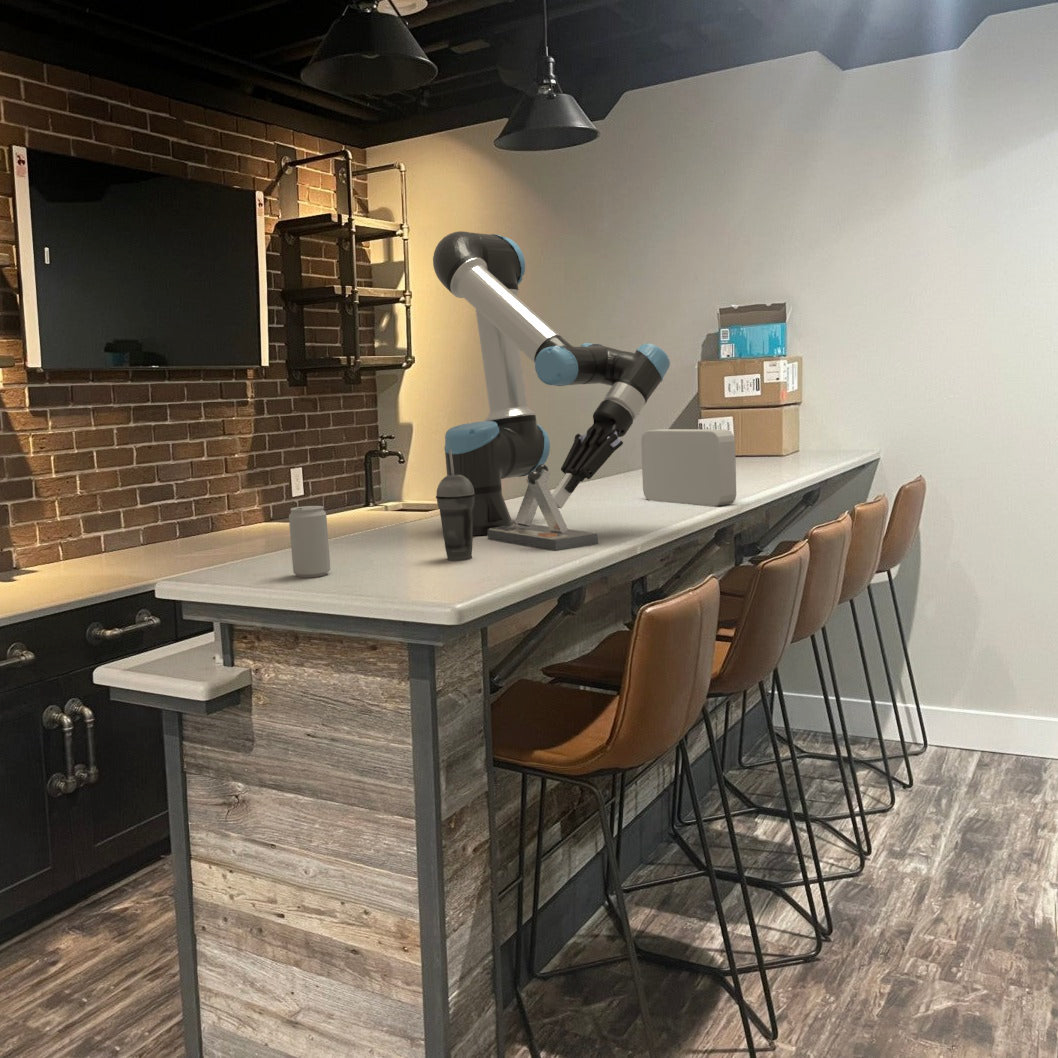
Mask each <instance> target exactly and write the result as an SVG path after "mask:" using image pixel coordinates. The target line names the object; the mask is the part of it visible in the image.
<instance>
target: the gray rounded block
mask: <svg viewBox="0 0 1058 1058" xmlns="http://www.w3.org/2000/svg"><path fill="white" fill-rule="evenodd" d="M640 438H641V439H640V440H641V441H640V444H641V445H640V448H641V467H642V468H641V470H642V471H641V472H642V473H641V474H642V492H643V496H644V497H645V498H646V500H649V501H651V500H652V501H651V502H663V503H673V504H683V505H684V504H685V505H692V506H693V505H694V506H695V505H696V506H704V507H705V506H706V507H719V506H727V505H732V504H734V503H735V501H736V499H737V498H736V497H737V469H736V468H737V467H736V466H737V465H736V464H737V463H736V460H737V459H736V439H735V435H734V433H733V432H732V431H731V430H729V429H710V428H709V429H704V428H703V429H702V428H701V429H695V428H694V429H691V428H689V429H688V428H687V429H686V428H683V429H681V428H680V429H679V428H678V429H677V428H675V429H672V428H671V429H670V428H669V429H668V428H660V429H648V430H645V431H643V433H642V434H641V437H640Z"/></svg>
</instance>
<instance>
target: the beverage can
mask: <svg viewBox="0 0 1058 1058" xmlns="http://www.w3.org/2000/svg"><path fill="white" fill-rule="evenodd" d="M327 518H328V517H327V512H326V511H325V510H324V506H323V505H306V506H297V507H291V508H290V513H289V514H288V521H289V522H288V523H289V524H288V525H289V535H290V548H291V559H292V560H291V563H292V572H293V574H295V575H296V577H297V578H305V579H307V578H310V579H311V578H320V577H323V576H327V574H328V572H330V571H331V559H330V545H329V533H328V532H329V531H328V519H327Z"/></svg>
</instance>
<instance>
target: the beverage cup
mask: <svg viewBox="0 0 1058 1058" xmlns="http://www.w3.org/2000/svg"><path fill="white" fill-rule="evenodd" d="M449 456H450V465H451V474H452V475H448V476H447V475H446V476H445V477H444V478H442V479H441V480H440V482H439V484H438V486H437V487H436V488H437V489H436V495H435V499H436V503H437V506H438V509H439V515H440V521H441V522H440V523H441V528H442V534H443V541H444V547H445V553H446V556H447V557H446V559H447V560H448V561H454V562H455V561H457V562H458V561H466V560H467V561H468V560H471V559H473V558H472V557H473V555H472V554H473V545H474V543H473V536H474V535H473V507H474V502H475V493H474V488H473V485H472V483H471V482H470V481H469V480H468V479H467V478H466V477H465V476H463V475H460V474H454V468H453V459H452V450H449Z"/></svg>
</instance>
